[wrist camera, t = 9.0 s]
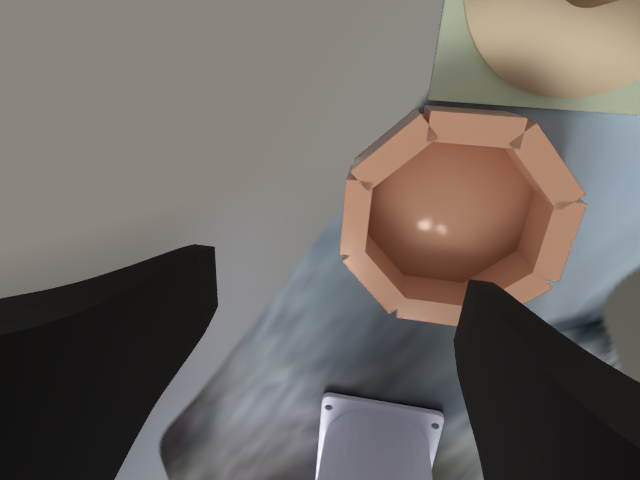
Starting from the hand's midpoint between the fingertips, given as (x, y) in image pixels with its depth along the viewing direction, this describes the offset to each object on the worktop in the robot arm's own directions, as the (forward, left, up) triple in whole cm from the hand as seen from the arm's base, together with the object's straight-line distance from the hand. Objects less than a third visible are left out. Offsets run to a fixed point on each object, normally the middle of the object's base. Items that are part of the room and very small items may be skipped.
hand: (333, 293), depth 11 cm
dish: (0, -5, -10) cm, 11 cm away
